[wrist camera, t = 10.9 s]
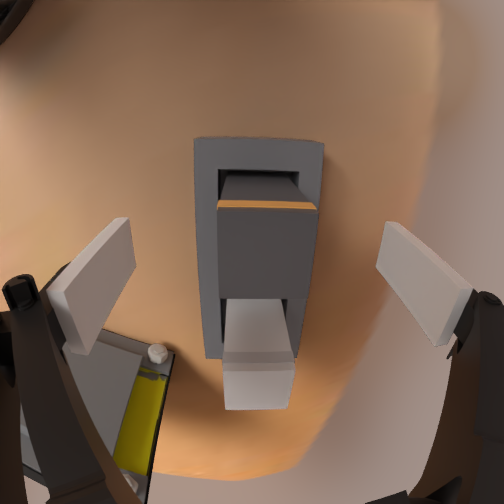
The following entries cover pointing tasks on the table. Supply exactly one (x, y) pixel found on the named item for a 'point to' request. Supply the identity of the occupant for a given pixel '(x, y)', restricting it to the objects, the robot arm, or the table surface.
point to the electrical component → (118, 403)
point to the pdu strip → (206, 199)
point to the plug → (264, 237)
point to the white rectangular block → (257, 356)
